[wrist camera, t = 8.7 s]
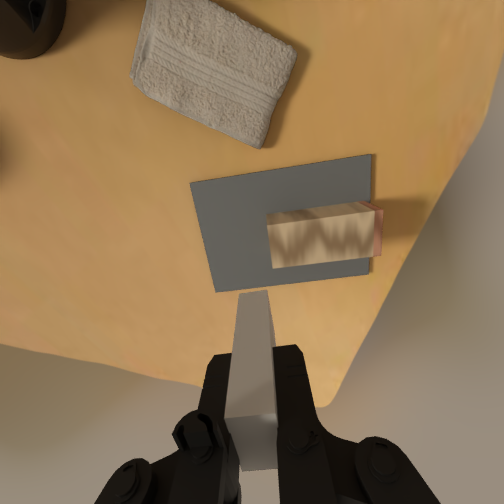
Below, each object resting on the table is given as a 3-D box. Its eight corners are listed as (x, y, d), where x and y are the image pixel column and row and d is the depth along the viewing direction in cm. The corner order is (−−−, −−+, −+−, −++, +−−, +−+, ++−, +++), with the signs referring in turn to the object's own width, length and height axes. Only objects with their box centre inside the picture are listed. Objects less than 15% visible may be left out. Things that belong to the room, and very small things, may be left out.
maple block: (267, 225, 31) (383, 209, 30) (266, 214, 36) (363, 200, 35) (272, 268, 33) (381, 255, 32) (270, 251, 39) (363, 240, 37)
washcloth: (157, -22, 28) (145, -42, 25) (300, 53, 30) (304, 43, 27) (133, 92, 32) (121, 86, 29) (260, 151, 34) (260, 151, 31)
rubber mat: (190, 182, 36) (189, 183, 35) (369, 154, 33) (371, 154, 33) (216, 290, 42) (215, 292, 42) (367, 272, 40) (368, 274, 39)
